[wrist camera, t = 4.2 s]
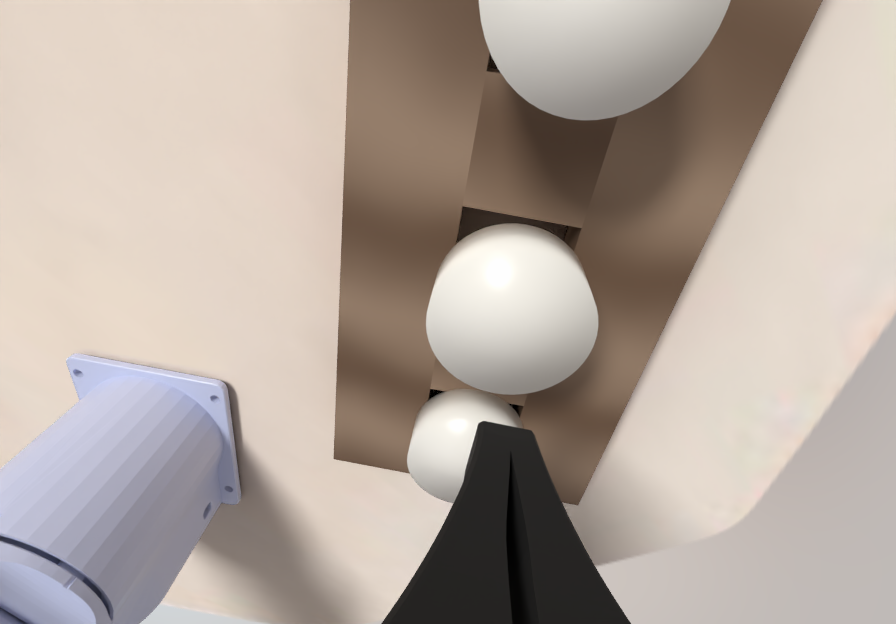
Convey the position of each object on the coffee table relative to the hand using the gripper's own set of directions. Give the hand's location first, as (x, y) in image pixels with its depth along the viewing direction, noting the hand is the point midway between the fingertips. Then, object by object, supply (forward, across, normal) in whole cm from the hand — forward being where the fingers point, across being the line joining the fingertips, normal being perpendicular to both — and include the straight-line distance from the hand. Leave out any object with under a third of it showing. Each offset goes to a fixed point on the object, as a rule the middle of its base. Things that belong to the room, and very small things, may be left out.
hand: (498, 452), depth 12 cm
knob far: (+8, 0, +6) cm, 10 cm away
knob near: (+6, 0, -10) cm, 12 cm away
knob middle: (+7, 0, -2) cm, 7 cm away
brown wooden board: (+8, 0, -2) cm, 9 cm away
